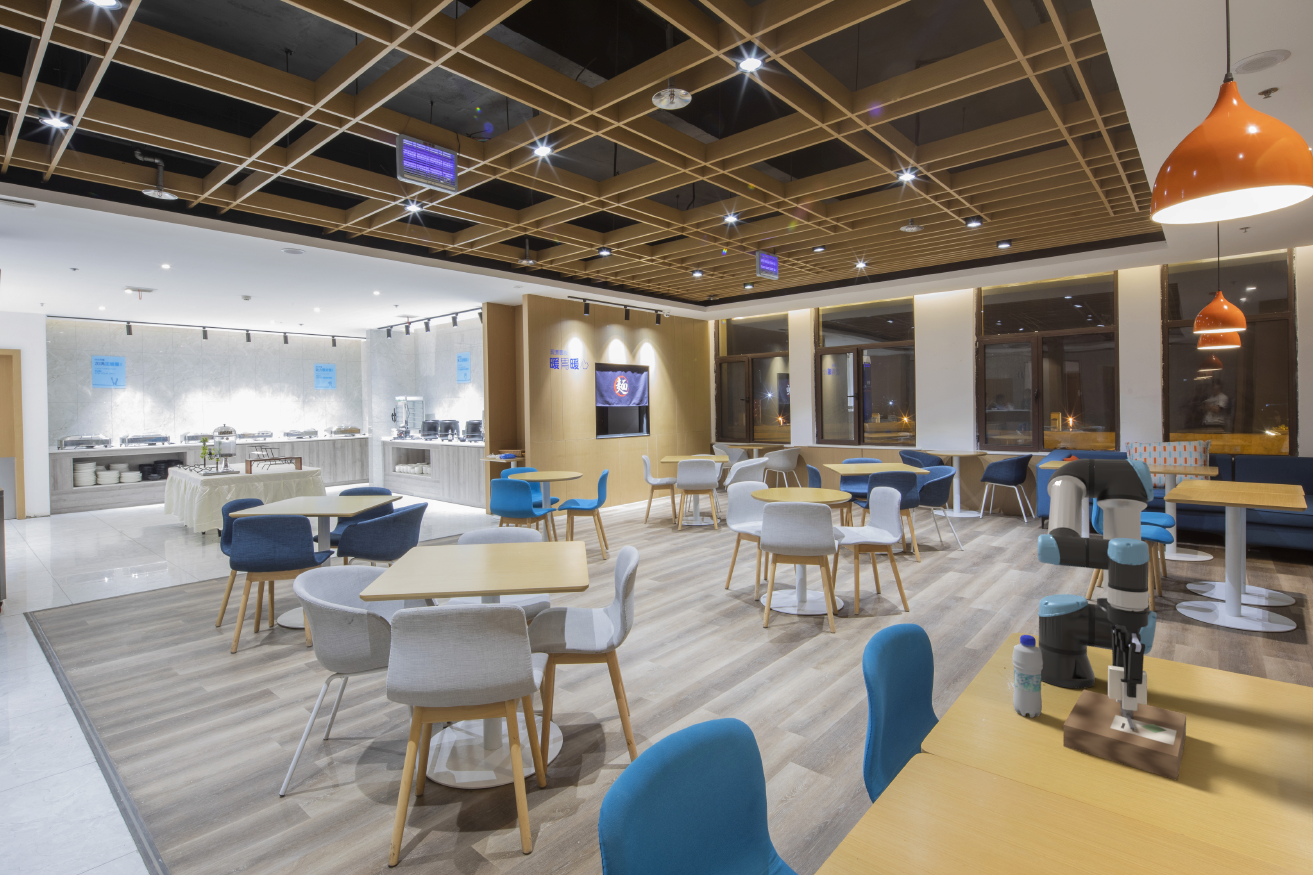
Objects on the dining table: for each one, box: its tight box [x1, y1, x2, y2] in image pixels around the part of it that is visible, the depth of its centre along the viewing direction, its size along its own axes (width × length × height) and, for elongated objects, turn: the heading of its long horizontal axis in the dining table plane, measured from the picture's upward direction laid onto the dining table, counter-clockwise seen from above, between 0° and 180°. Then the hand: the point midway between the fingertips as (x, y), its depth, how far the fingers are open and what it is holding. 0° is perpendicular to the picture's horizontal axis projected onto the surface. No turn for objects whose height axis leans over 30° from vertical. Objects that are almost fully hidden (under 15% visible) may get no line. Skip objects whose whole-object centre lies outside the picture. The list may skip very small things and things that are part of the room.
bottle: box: [1011, 634, 1043, 718], centre depth 157 cm, size 7×7×20 cm
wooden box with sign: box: [1062, 689, 1187, 781], centre depth 144 cm, size 20×24×5 cm
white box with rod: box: [1107, 664, 1148, 730], centre depth 142 cm, size 7×9×11 cm
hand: (1126, 705), depth 145 cm, fingers closed on white box with rod, 3 cm apart
